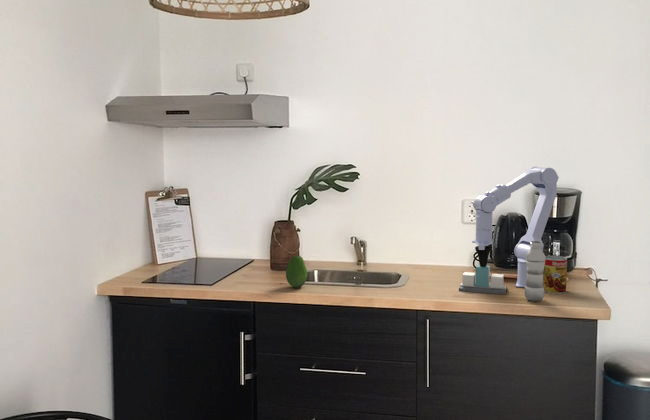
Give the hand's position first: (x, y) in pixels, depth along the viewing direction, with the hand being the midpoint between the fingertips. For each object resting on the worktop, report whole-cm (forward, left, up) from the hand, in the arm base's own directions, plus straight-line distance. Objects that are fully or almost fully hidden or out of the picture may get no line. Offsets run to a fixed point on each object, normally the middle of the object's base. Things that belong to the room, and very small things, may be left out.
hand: (483, 266), depth 226 cm
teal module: (0, 0, -7) cm, 7 cm away
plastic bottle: (-18, +10, -9) cm, 22 cm away
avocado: (+66, +17, -9) cm, 69 cm away
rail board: (0, 0, -9) cm, 9 cm away
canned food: (-24, -6, -9) cm, 27 cm away
